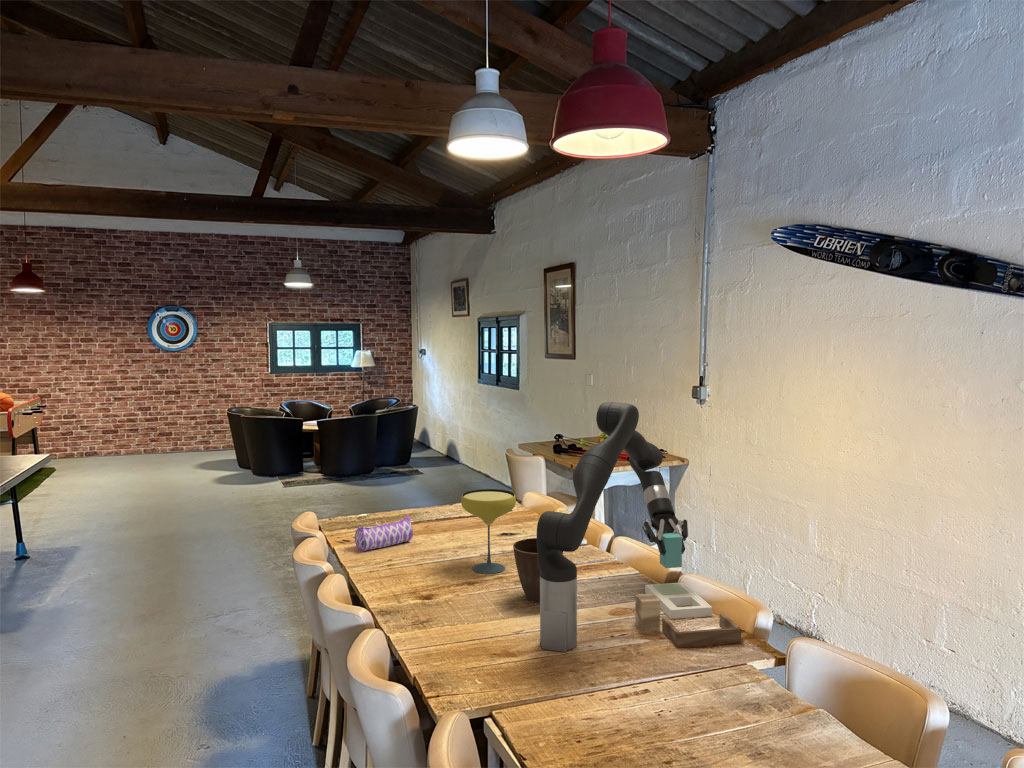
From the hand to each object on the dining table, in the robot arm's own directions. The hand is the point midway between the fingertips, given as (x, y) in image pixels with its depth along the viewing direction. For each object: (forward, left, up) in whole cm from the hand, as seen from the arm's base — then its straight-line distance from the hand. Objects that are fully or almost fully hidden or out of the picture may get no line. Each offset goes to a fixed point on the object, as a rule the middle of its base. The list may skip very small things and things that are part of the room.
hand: (673, 553), depth 204 cm
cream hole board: (-3, -1, -14) cm, 14 cm away
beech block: (-22, +5, -14) cm, 26 cm away
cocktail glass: (+11, +61, -14) cm, 63 cm away
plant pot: (-10, +38, -14) cm, 42 cm away
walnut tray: (-24, -9, -14) cm, 29 cm away
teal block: (+2, +1, -4) cm, 5 cm away
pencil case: (+24, +107, -14) cm, 111 cm away
